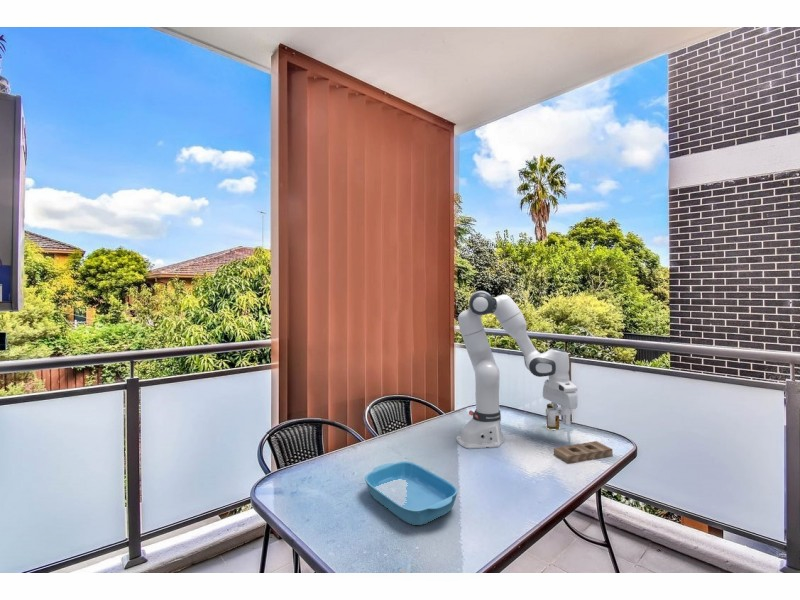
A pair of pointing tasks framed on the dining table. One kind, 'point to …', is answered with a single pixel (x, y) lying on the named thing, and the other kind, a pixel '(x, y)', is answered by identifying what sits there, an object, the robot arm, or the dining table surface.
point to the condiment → (555, 419)
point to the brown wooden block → (582, 452)
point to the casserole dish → (413, 492)
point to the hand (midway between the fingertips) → (558, 413)
